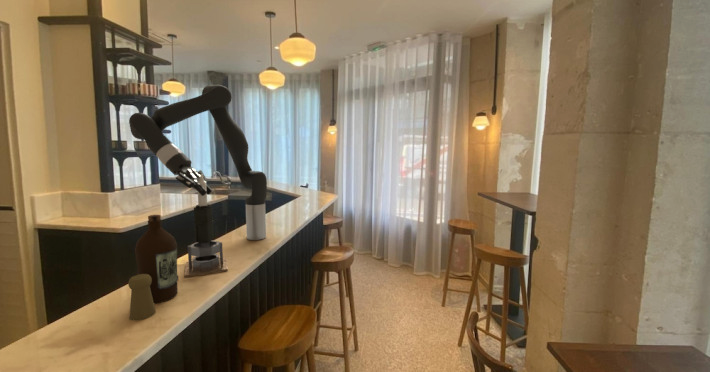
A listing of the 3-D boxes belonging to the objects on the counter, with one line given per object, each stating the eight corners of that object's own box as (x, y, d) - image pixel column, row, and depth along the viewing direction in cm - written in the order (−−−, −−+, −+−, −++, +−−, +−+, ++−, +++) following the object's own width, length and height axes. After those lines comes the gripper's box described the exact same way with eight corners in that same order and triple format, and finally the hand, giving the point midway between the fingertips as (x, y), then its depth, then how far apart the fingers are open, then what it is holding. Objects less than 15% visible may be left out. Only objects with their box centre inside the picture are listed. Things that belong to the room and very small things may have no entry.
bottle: (214, 239, 122) (211, 173, 119) (207, 243, 117) (204, 174, 114) (201, 238, 122) (198, 173, 119) (194, 242, 117) (190, 174, 114)
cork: (135, 322, 83) (132, 282, 82) (124, 316, 86) (121, 276, 85) (160, 312, 88) (157, 274, 87) (149, 306, 91) (146, 269, 90)
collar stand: (186, 264, 124) (184, 241, 123) (225, 258, 130) (224, 237, 129) (184, 277, 112) (183, 252, 110) (227, 271, 118) (226, 247, 116)
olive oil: (130, 301, 94) (123, 218, 91) (161, 286, 104) (156, 211, 101) (157, 307, 91) (151, 221, 88) (187, 291, 101) (183, 213, 98)
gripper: (167, 152, 109) (204, 188, 110) (192, 151, 123) (224, 184, 124) (154, 167, 110) (189, 203, 111) (179, 165, 124) (211, 197, 125)
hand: (207, 193), depth 117 cm, fingers closed on bottle, 3 cm apart
